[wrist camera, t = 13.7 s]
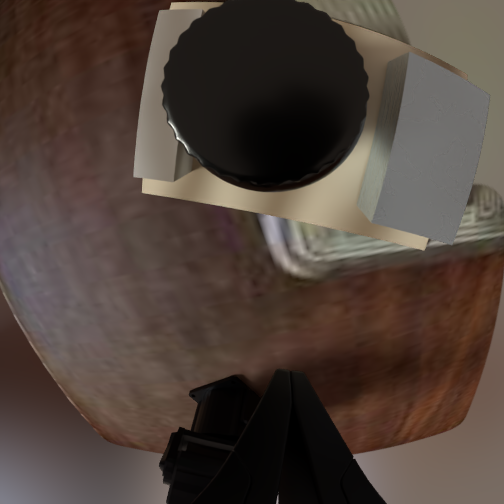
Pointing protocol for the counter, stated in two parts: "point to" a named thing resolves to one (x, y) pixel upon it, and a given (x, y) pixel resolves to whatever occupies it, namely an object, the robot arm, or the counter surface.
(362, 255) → the counter surface
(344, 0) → the counter surface
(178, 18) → the vise
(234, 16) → the supplement bottle
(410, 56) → the sliding jaw
